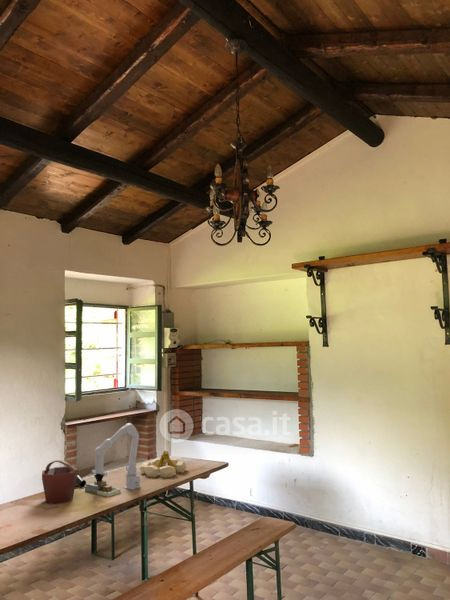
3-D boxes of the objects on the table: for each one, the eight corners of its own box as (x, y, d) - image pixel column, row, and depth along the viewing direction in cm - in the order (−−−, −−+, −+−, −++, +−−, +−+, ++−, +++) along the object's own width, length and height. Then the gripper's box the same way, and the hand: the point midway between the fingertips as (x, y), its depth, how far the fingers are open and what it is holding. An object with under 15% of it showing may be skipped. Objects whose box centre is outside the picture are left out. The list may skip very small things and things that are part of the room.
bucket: (83, 499, 304) (83, 460, 307) (50, 508, 288) (50, 467, 291) (65, 492, 321) (65, 455, 324) (33, 500, 305) (34, 461, 308)
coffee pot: (80, 483, 342) (87, 486, 337) (58, 492, 328) (65, 496, 323) (80, 473, 341) (87, 476, 336) (58, 482, 327) (65, 486, 322)
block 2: (108, 491, 319) (111, 492, 317) (103, 492, 316) (107, 493, 314) (108, 485, 320) (111, 485, 317) (103, 486, 317) (107, 487, 314)
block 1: (106, 487, 321) (106, 481, 321) (101, 488, 317) (101, 482, 318) (102, 486, 323) (102, 480, 323) (97, 487, 320) (97, 481, 320)
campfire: (166, 480, 344) (165, 457, 346) (132, 475, 362) (131, 452, 363) (193, 469, 374) (193, 447, 376) (160, 465, 391) (160, 444, 393)
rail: (109, 490, 323) (109, 483, 323) (97, 494, 315) (97, 487, 316) (96, 487, 331) (96, 480, 332) (84, 490, 323) (84, 484, 324)
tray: (120, 492, 317) (120, 488, 317) (107, 497, 308) (107, 493, 308) (109, 490, 323) (109, 486, 324) (96, 494, 315) (96, 490, 315)
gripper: (88, 464, 325) (87, 484, 323) (101, 467, 316) (101, 488, 315) (96, 462, 330) (96, 482, 329) (109, 465, 322) (109, 485, 320)
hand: (99, 485), depth 322 cm, fingers closed
